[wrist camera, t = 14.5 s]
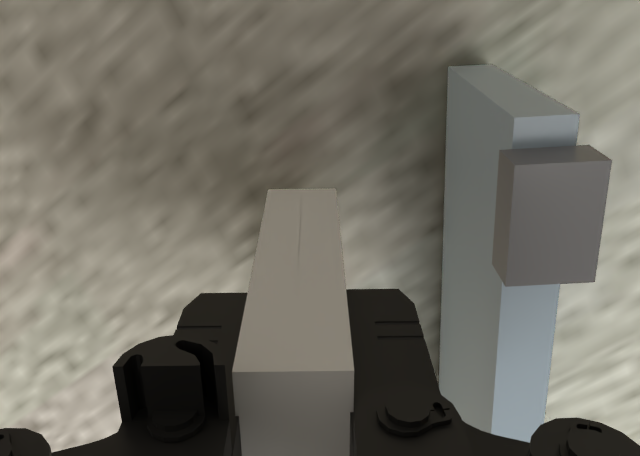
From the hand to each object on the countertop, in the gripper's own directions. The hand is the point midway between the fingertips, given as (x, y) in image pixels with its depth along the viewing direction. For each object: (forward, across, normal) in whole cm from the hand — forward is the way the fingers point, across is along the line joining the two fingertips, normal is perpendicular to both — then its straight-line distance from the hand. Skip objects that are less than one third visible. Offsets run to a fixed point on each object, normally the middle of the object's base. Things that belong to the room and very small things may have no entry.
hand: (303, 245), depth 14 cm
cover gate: (+2, +4, -2) cm, 5 cm away
